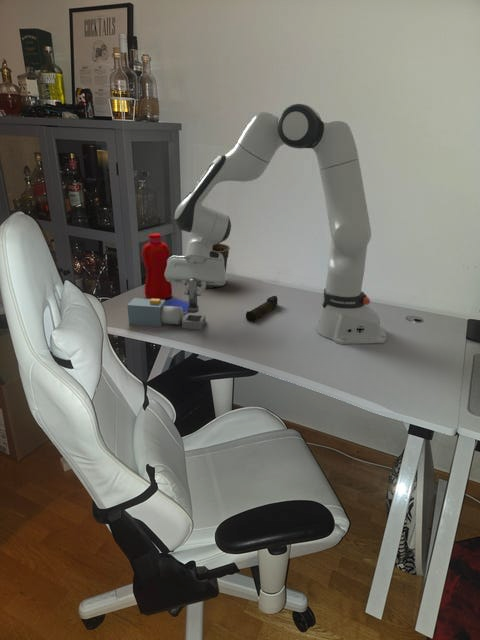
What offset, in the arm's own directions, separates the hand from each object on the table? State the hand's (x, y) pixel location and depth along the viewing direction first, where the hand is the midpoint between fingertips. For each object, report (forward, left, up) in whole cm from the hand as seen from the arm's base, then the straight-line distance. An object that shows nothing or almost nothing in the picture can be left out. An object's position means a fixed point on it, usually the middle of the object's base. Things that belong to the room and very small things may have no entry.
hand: (192, 294), depth 133 cm
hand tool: (-22, -15, -12) cm, 29 cm away
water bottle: (+20, -24, -11) cm, 33 cm away
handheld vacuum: (+9, -1, -11) cm, 14 cm away
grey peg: (0, -1, -6) cm, 6 cm away
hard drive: (+9, -15, -12) cm, 21 cm away
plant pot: (+2, -43, -11) cm, 44 cm away
